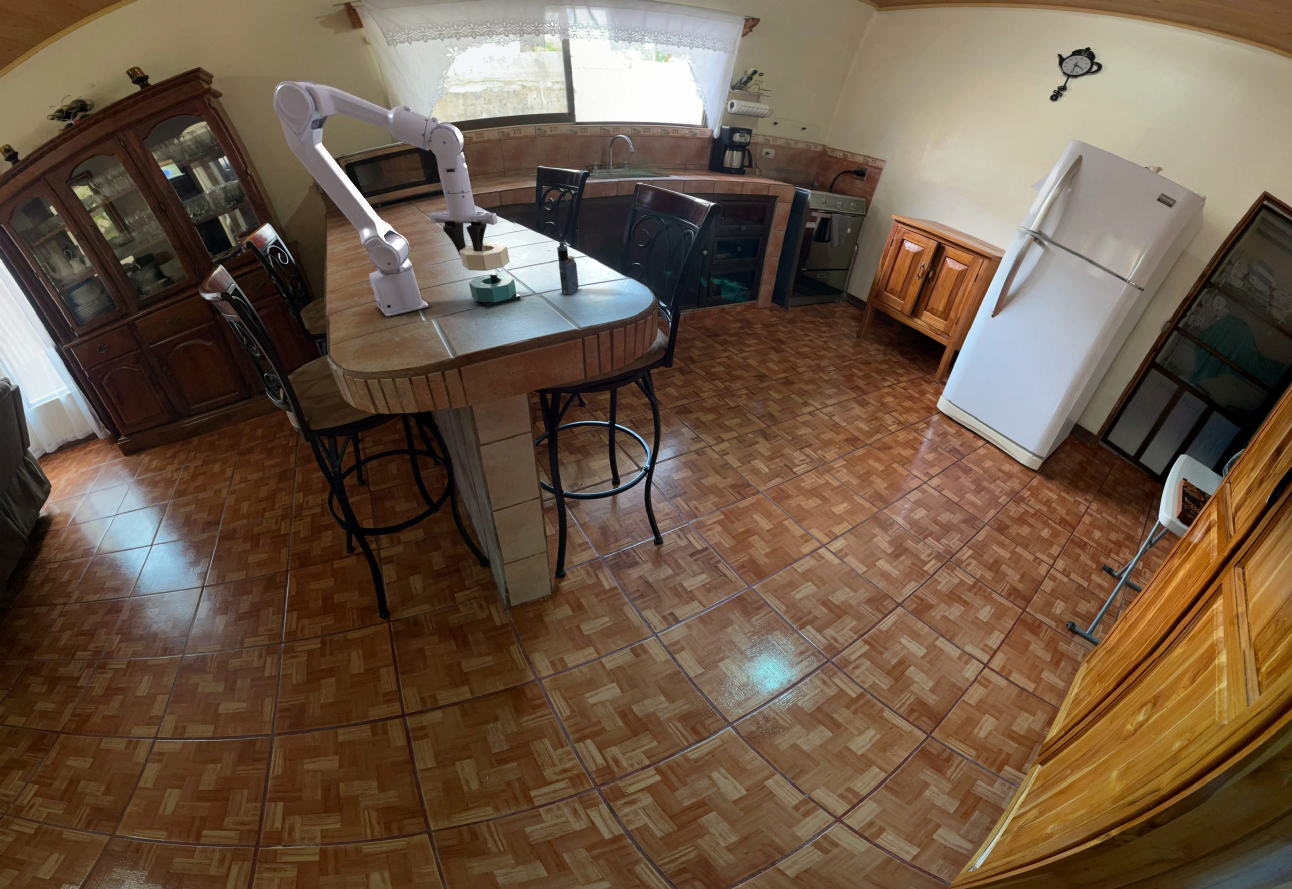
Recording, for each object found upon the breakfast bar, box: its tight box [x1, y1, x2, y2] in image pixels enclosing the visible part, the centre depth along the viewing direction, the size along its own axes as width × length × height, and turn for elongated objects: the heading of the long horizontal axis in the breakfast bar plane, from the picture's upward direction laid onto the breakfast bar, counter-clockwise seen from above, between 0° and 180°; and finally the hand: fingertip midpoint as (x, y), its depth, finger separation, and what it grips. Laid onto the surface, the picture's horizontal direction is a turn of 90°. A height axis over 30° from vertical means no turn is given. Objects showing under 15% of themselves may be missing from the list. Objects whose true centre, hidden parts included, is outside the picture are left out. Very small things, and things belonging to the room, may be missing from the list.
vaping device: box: [556, 241, 579, 296], centre depth 121 cm, size 3×5×12 cm, turn 152°
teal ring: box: [468, 273, 517, 303], centre depth 120 cm, size 10×10×3 cm
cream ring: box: [459, 242, 511, 272], centre depth 114 cm, size 10×10×3 cm
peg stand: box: [481, 272, 521, 308], centre depth 120 cm, size 8×8×6 cm
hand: (471, 257), depth 114 cm, fingers closed on cream ring, 3 cm apart
